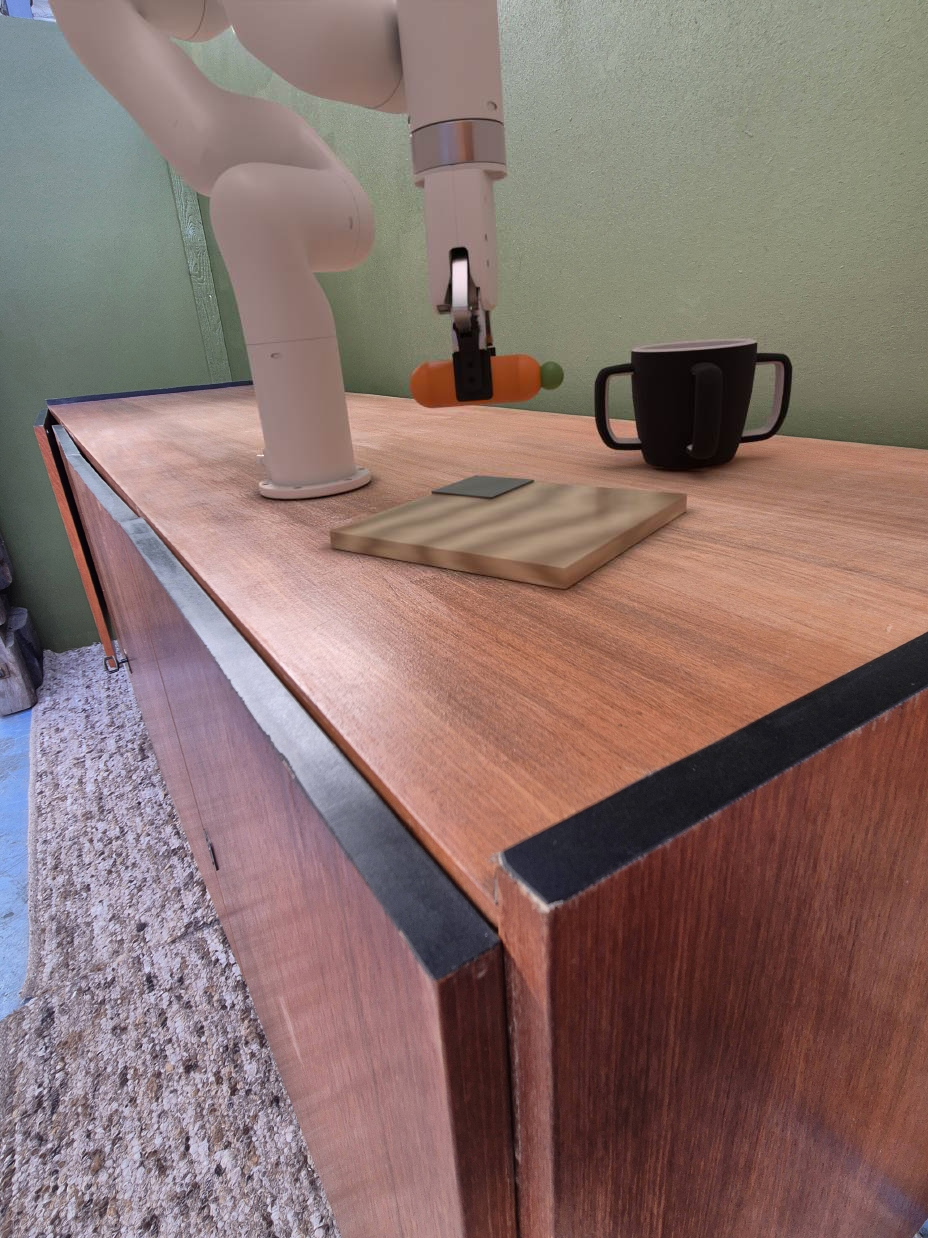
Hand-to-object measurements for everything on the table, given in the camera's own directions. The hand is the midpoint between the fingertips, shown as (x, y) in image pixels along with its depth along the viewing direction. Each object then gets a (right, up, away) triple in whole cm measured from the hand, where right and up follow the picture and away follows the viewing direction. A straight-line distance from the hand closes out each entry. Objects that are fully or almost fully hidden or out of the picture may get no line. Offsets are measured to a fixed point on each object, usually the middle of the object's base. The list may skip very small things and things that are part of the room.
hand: (478, 394), depth 64 cm
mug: (+23, -4, +13) cm, 26 cm away
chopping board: (+3, -13, -5) cm, 14 cm away
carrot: (0, 0, +1) cm, 1 cm away
